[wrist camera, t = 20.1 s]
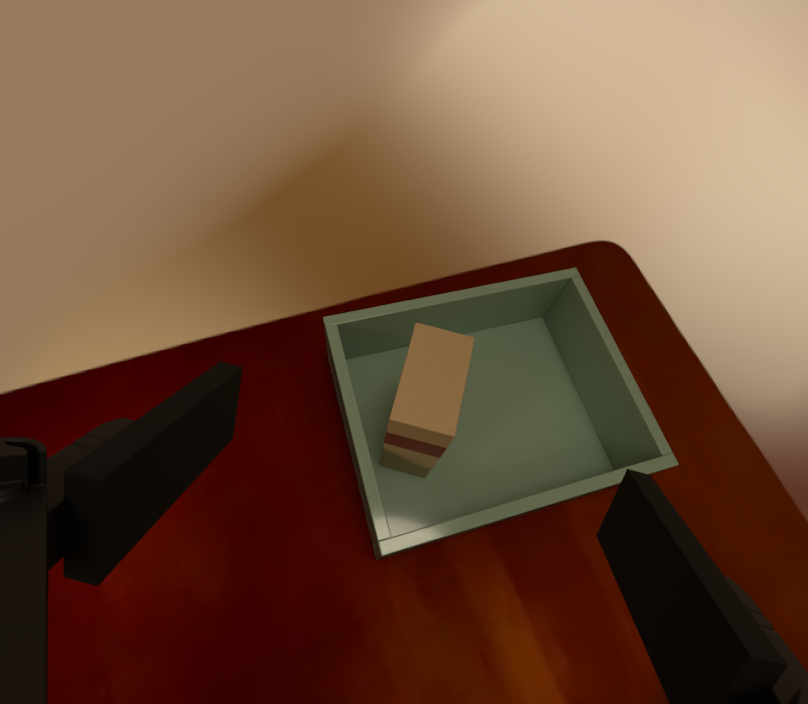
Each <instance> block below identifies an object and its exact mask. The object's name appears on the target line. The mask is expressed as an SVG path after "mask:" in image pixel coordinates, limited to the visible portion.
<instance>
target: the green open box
mask: <svg viewBox="0 0 808 704" xmlns="http://www.w3.org/2000/svg"><path fill="white" fill-rule="evenodd" d="M323 320H324V329H325V337H326V345H327V353H328V360H329V365H330V369H331V373H332V377H333V381H334V385H335V390H336V394H337V398H338V402H339V406H340V411H341V415H342V419H343V423H344V427H345V431H346V436H347V440H348V444H349V448H350V452H351V456H352V461H353V465H354V469H355V473H356V477H357V482H358V486H359V490H360V494H361V498H362V502H363V507H364V511H365V515H366V519H367V523H368V528H369V532H370V536H371V540H372V544H373V548H374V553H375V557H376V560H380V559H384V558H387V557H390V556H393V555H397V554H400V553H403V552H406V551H409V550H413V549H416V548H419V547H422V546H426V545H429V544H432V543H435V542H439V541H442V540H445V539H448V538H452V537H455V536H458V535H461V534H464V533H468V532H471V531H474V530H477V529H481V528H484V527H487V526H490V525H494V524H497V523H500V522H503V521H507V520H510V519H513V518H516V517H519V516H523V515H526V514H529V513H532V512H536V511H539V510H542V509H545V508H549V507H552V506H555V505H558V504H562V503H565V502H568V501H571V500H574V499H578V498H581V497H584V496H587V495H591V494H594V493H597V492H600V491H604V490H607V489H610V488H613V487H617V486H620V483H621V481H622V479H623V477H624V475H625V473H626V470H627V469H630V470H634V471H638V472H641V473H645V474H649V475H652V474H654V473H657V472H660V471H663V470H666V469H669V468H672V467H674V466H677V465H679V464H678V462H677V460H676V458H675V456H674V454H673V453H672V450H671V448H670V446H669V444H668V443H667V441H666V439H665V437H664V435H663V433H662V431H661V429H660V427H659V425H658V423H657V422H656V420H655V418H654V416H653V414H652V412H651V410H650V408H649V406H648V404H647V402H646V400H645V399H644V397H643V395H642V393H641V391H640V389H639V387H638V385H637V383H636V381H635V379H634V378H633V376H632V374H631V372H630V370H629V368H628V366H627V364H626V362H625V360H624V358H623V356H622V355H621V353H620V351H619V349H618V347H617V345H616V343H615V341H614V339H613V337H612V335H611V334H610V332H609V330H608V328H607V326H606V324H605V322H604V320H603V318H602V316H601V314H600V313H599V311H598V309H597V307H596V305H595V303H594V301H593V299H592V297H591V295H590V293H589V291H588V290H587V288H586V286H585V284H584V282H583V280H582V278H581V276H580V274H579V272H578V271H577V269H576V268H572V269H567V270H562V271H557V272H551V273H546V274H541V275H536V276H531V277H526V278H521V279H516V280H511V281H505V282H500V283H495V284H490V285H485V286H480V287H475V288H470V289H465V290H460V291H454V292H449V293H444V294H439V295H434V296H429V297H424V298H419V299H414V300H408V301H403V302H398V303H393V304H388V305H383V306H378V307H373V308H368V309H363V310H357V311H352V312H347V313H342V314H337V315H332V316H327V317H323ZM415 323H421V324H424V325H428V326H432V327H436V328H440V329H443V330H447V331H451V332H455V333H459V334H462V335H466V336H470V337H474V338H475V340H474V345H473V350H472V355H471V360H470V365H469V370H468V375H467V380H466V385H465V390H464V395H463V400H462V404H461V409H460V414H459V419H458V424H457V429H456V434H455V437H454V438H453V440H452V441H451V443H450V444H449V445H448V448H447V449H446V451H445V452H444V453H443V455H442V456H441V458H439V460H438V461H437V463H436V464H435V465H434V467H433V468H432V470H431V471H430V472H429V474H428V475H427V477H426V478H424V477H420V476H416V475H413V474H409V473H405V472H402V471H398V470H394V469H390V468H387V467H383V466H380V465H379V464H380V459H381V455H382V450H383V445H384V439H385V434H386V430H387V426H388V422H389V418H390V414H391V410H392V407H393V403H394V399H395V396H396V392H397V388H398V385H399V381H400V378H401V374H402V370H403V367H404V363H405V359H406V356H407V352H408V348H409V345H410V341H411V337H412V334H413V330H414V326H415Z"/></svg>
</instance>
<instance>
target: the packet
mask: <svg viewBox="0 0 808 704" xmlns="http://www.w3.org/2000/svg"><path fill="white" fill-rule="evenodd" d="M474 340H475V338H474V337H470V336H466V335H462V334H459V333H455V332H451V331H447V330H443V329H440V328H436V327H432V326H428V325H424V324H421V323H415V326H414V330H413V334H412V337H411V341H410V345H409V348H408V352H407V356H406V359H405V363H404V367H403V370H402V374H401V378H400V381H399V385H398V388H397V392H396V396H395V399H394V403H393V407H392V410H391V414H390V418H389V422H388V426H387V430H386V434H385V439H384V445H383V450H382V455H381V459H380V464H379V465H380V466H383V467H387V468H390V469H394V470H398V471H402V472H405V473H409V474H413V475H416V476H420V477H424V478H426V477H427V475H428V474H429V472H430V471H431V470H432V468H433V467H434V465H435V464H436V463H437V461H438V460H439V458H441V456H442V455H443V453H444V452H445V451H446V449H447V448H448V445H449V444H450V443H451V441H452V440H453V438H454V437H455V434H456V429H457V424H458V419H459V414H460V409H461V404H462V400H463V395H464V390H465V385H466V380H467V375H468V370H469V365H470V360H471V355H472V350H473V345H474Z"/></svg>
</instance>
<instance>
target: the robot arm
mask: <svg viewBox="0 0 808 704" xmlns="http://www.w3.org/2000/svg"><path fill="white" fill-rule="evenodd" d="M241 375H242V367H239V366H235V365H231V364H228V363H224V362H219V363H218V364H216V365H215V366H213V367H212V368H210V369H209V370H208V371H206V372H205V373H203V374H202V375H200V376H199V377H198V378H196V379H195V380H193V381H192V382H190V383H189V384H187V385H186V386H185V387H183V388H182V389H180V390H179V391H177V392H176V393H175V394H173V395H172V396H170V397H169V398H167V399H166V400H165V401H163V402H162V403H160V404H159V405H157V406H156V407H155V408H153V409H152V410H150V411H149V412H147V413H146V414H145V415H143V416H142V417H140V418H139V419H137V420H136V421H134V420H130V419H126V418H119V419H116V420H113V421H110V422H107V423H104V424H101V425H100V426H98V427H96V428H95V429H93V430H92V431H90V432H89V433H87V434H86V436H85V437H84V436H82V437H81V438H79V439H78V440H76V441H75V442H73V444H72V445H68V446H67V447H65V448H64V449H62V450H61V451H59V452H57V453H56V454H54V455H53V456H51V457H50V458H48V459H47V450H46V448H45V446H44V444H42V443H40V442H39V441H37V440H35V439H29V438H24V437H5V438H0V704H48V570H49V569H50V568H51V567H53V566H54V565H55V564H56V563H57V562H58V561H59V560H60V559H61V558H62V557H63V556H64V577H66V578H69V579H73V580H77V581H81V582H84V583H88V584H92V585H95V586H98V585H99V584H100V583H101V582H102V581H103V580H104V578H105V577H106V576H107V575H108V574H109V573H110V572H111V571H112V570H113V569H114V568H115V566H116V565H117V564H118V563H119V562H120V561H121V560H122V559H123V558H124V557H125V556H126V554H127V553H128V552H129V551H130V550H131V549H132V548H133V547H134V546H135V545H136V544H137V542H138V541H139V540H140V539H141V538H142V537H143V536H144V535H145V534H146V533H147V532H148V530H149V529H150V528H151V527H152V526H153V525H154V524H155V523H156V522H157V521H158V520H159V518H160V517H161V516H162V515H163V514H164V513H165V512H166V511H167V510H168V509H169V508H170V506H171V505H172V504H173V503H174V502H175V501H176V500H177V499H178V498H179V497H180V496H181V495H182V493H183V492H184V491H185V490H186V489H187V488H188V487H189V486H190V485H191V484H192V483H193V481H194V480H195V479H196V478H197V477H198V476H199V475H200V474H201V473H202V472H203V471H204V469H205V468H206V467H207V466H208V465H209V464H210V463H211V462H212V461H213V460H214V459H215V457H216V456H217V455H218V454H219V453H220V452H221V451H222V450H223V449H224V448H225V447H226V445H227V444H228V443H229V442H230V441H231V440H232V439H233V433H234V426H235V418H236V411H237V404H238V396H239V389H240V382H241ZM597 538H598V540H599V542H600V545H601V547H602V549H603V551H604V554H605V556H606V558H607V561H608V563H609V565H610V567H611V570H612V572H613V574H614V577H615V579H616V581H617V584H618V586H619V588H620V590H621V593H622V595H623V597H624V600H625V602H626V604H627V606H628V609H629V611H630V613H631V616H632V618H633V620H634V623H635V625H636V627H637V629H638V632H639V634H640V636H641V639H642V641H643V643H644V646H645V648H646V650H647V652H648V655H649V657H650V659H651V662H652V664H653V666H654V668H655V671H656V673H657V675H658V678H659V680H660V682H661V685H662V687H663V689H664V691H665V694H666V696H667V698H668V701H669V703H670V704H808V673H807V671H806V670H805V669H804V667H803V666H802V665H801V663H800V662H799V661H798V660H797V658H796V657H795V656H794V654H793V653H792V652H791V650H790V649H789V648H788V646H787V645H786V644H785V642H784V641H783V640H782V638H781V637H780V636H779V634H778V633H777V632H775V631H774V628H773V626H772V625H771V624H770V622H769V621H768V620H767V619H766V617H764V616H762V612H761V611H760V609H759V608H758V607H757V605H756V604H755V603H754V601H753V600H752V599H751V597H750V596H749V595H748V594H747V593H746V592H745V591H744V590H743V589H741V588H740V587H739V586H738V585H737V584H736V583H735V582H734V581H733V580H732V579H730V578H729V577H725V576H723V574H722V573H721V572H720V570H719V569H718V567H717V566H716V565H715V563H714V562H713V561H712V559H711V558H710V556H709V555H708V554H707V552H706V551H705V550H704V548H703V547H702V545H701V544H700V543H699V541H698V540H697V539H696V537H695V536H694V534H693V533H692V532H691V530H690V529H689V528H688V526H687V525H686V523H685V522H684V521H683V519H682V518H681V517H680V515H679V514H678V512H677V511H676V510H675V508H674V507H673V506H672V504H671V503H670V501H669V500H668V499H667V497H666V496H665V495H664V493H663V492H662V490H661V489H660V488H659V486H658V485H657V484H656V482H655V481H654V479H653V478H652V477H651V475H649V474H645V473H641V472H638V471H634V470H630V469H627V470H626V473H625V475H624V477H623V479H622V481H621V483H620V486H619V488H618V490H617V492H616V494H615V496H614V499H613V501H612V503H611V505H610V507H609V509H608V512H607V514H606V516H605V518H604V520H603V522H602V525H601V527H600V529H599V531H598V533H597Z"/></svg>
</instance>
